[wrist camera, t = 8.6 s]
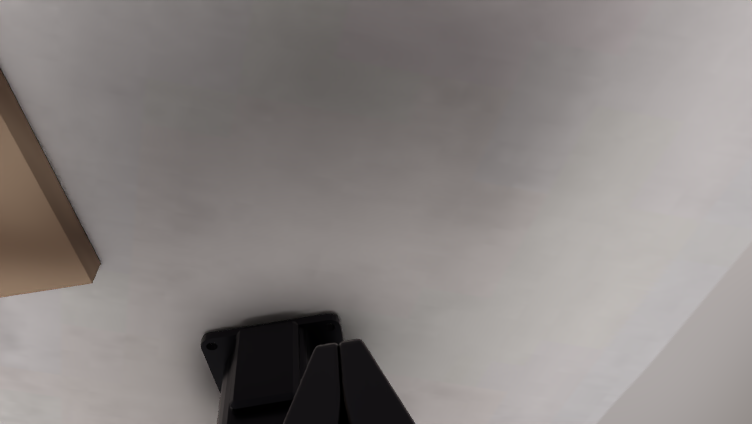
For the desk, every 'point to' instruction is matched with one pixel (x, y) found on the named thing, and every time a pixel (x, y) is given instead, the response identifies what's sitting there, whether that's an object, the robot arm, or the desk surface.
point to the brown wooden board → (35, 214)
